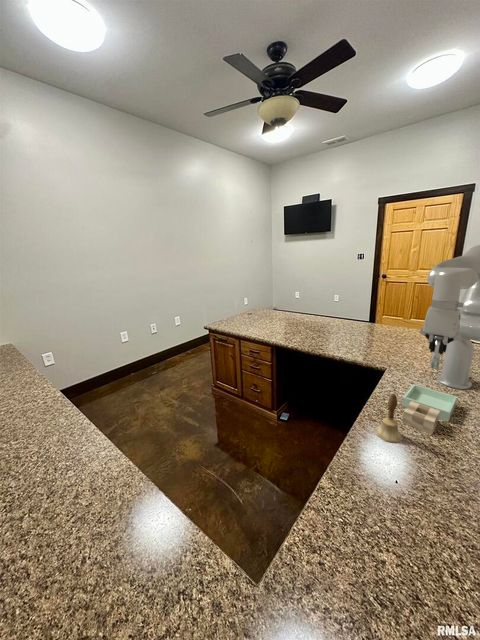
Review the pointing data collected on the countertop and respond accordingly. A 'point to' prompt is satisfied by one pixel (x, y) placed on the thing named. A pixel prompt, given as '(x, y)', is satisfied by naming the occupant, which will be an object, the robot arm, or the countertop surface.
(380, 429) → the hand bell
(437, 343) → the steel pin
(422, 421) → the hitch block
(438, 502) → the countertop surface
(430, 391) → the tray
